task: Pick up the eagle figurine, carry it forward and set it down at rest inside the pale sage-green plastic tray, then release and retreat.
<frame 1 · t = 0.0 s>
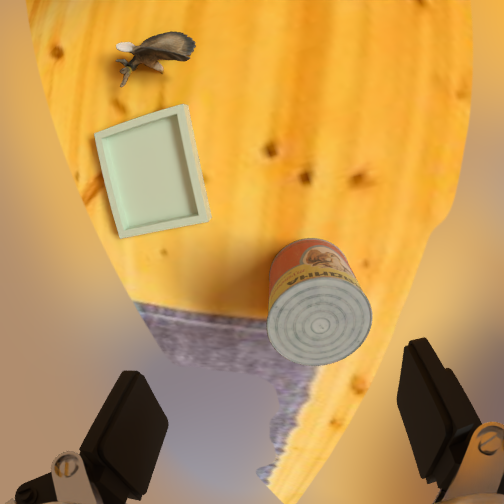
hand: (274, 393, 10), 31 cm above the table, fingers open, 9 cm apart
tray: (153, 172, 39), on the table
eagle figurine: (162, 59, 33), on the table
canned food: (309, 276, 42), on the table
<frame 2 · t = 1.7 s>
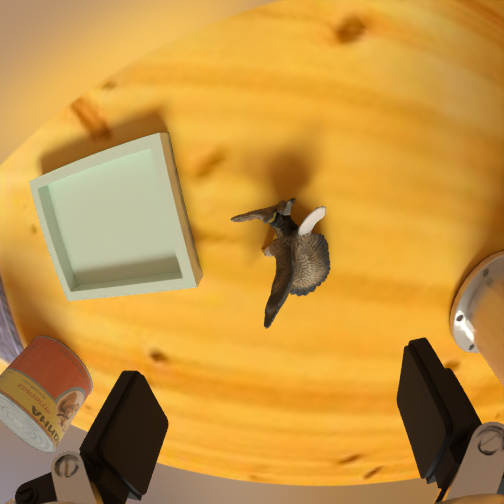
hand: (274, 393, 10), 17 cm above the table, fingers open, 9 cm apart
tray: (112, 222, 27), on the table
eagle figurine: (287, 246, 27), on the table
canned food: (61, 367, 36), on the table
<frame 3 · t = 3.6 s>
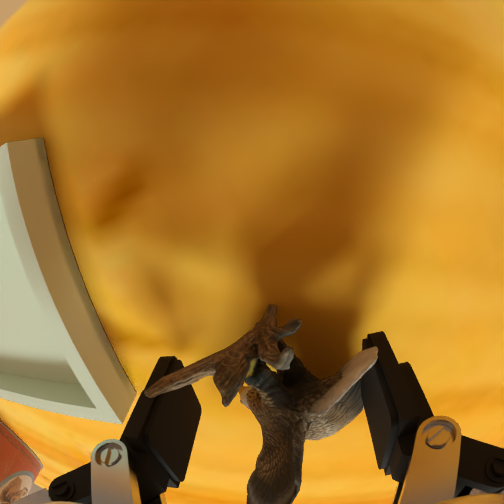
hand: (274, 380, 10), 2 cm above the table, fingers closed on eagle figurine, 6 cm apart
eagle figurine: (284, 378, 13), on the table, touching gripper
canned food: (5, 437, 22), on the table
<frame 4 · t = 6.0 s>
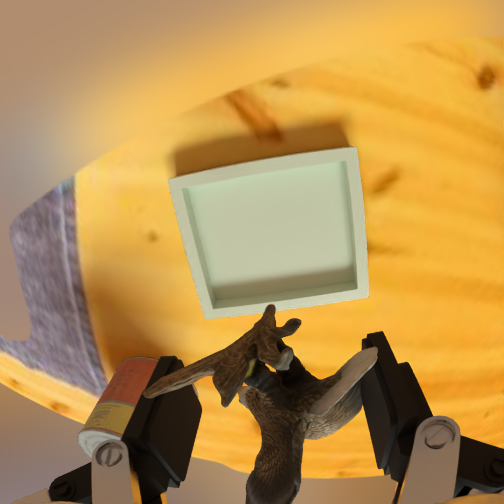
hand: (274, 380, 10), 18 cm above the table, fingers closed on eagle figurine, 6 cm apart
tray: (274, 232, 27), on the table
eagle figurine: (283, 377, 13), point 16 cm above the table, touching gripper
canned food: (156, 388, 36), on the table
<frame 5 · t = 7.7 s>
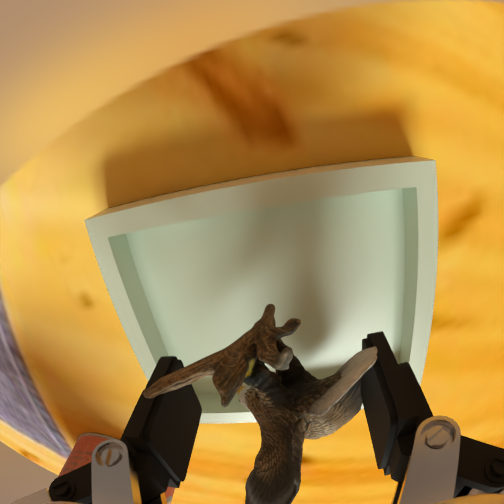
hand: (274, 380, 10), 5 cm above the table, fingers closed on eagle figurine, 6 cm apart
tray: (277, 305, 15), on the table
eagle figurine: (282, 377, 13), point 3 cm above the table, touching gripper
canned food: (126, 463, 24), on the table
when the fingers open (3 cm above the table, at t = 8.7 s): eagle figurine stays where it is, resting on tray.
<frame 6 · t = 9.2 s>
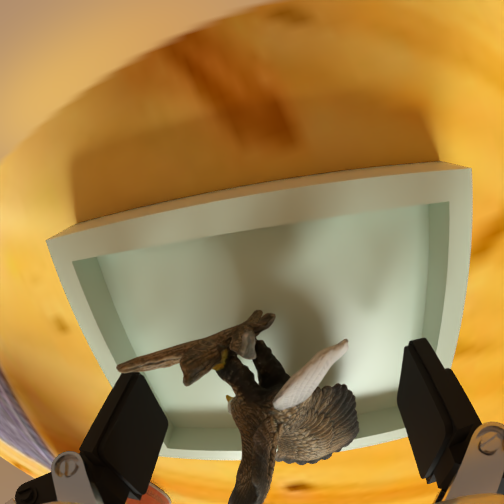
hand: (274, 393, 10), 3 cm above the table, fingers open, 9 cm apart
tray: (275, 337, 13), on the table
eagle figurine: (276, 393, 12), point 1 cm above the table, touching tray
canned food: (117, 483, 22), on the table
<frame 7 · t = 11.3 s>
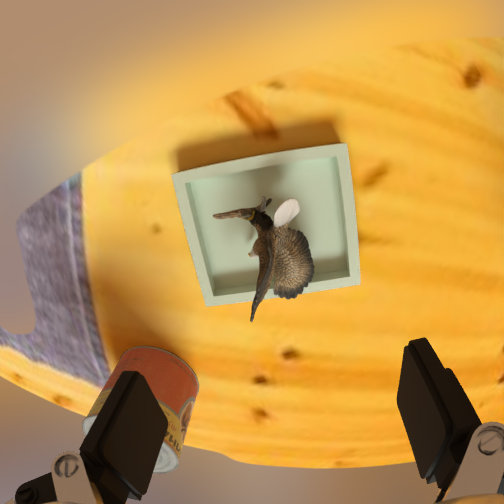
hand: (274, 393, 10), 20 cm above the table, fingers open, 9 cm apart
tray: (271, 224, 29), on the table
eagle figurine: (272, 250, 28), point 1 cm above the table, touching tray
canned food: (158, 377, 37), on the table
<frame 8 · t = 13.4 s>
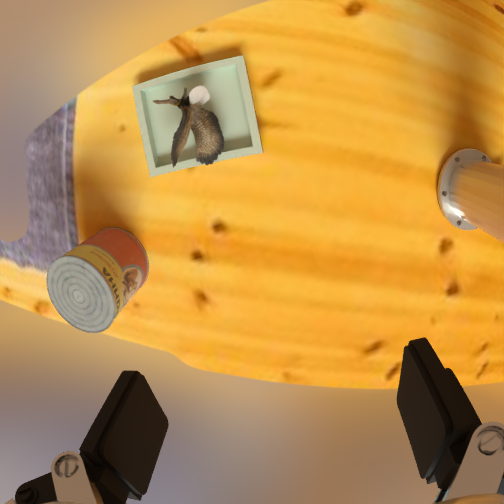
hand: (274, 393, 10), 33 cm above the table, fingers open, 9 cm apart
tray: (197, 116, 38), on the table
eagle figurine: (196, 131, 37), point 1 cm above the table, touching tray
canned food: (117, 260, 46), on the table
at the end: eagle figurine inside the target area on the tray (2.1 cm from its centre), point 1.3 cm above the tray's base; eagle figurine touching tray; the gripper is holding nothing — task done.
